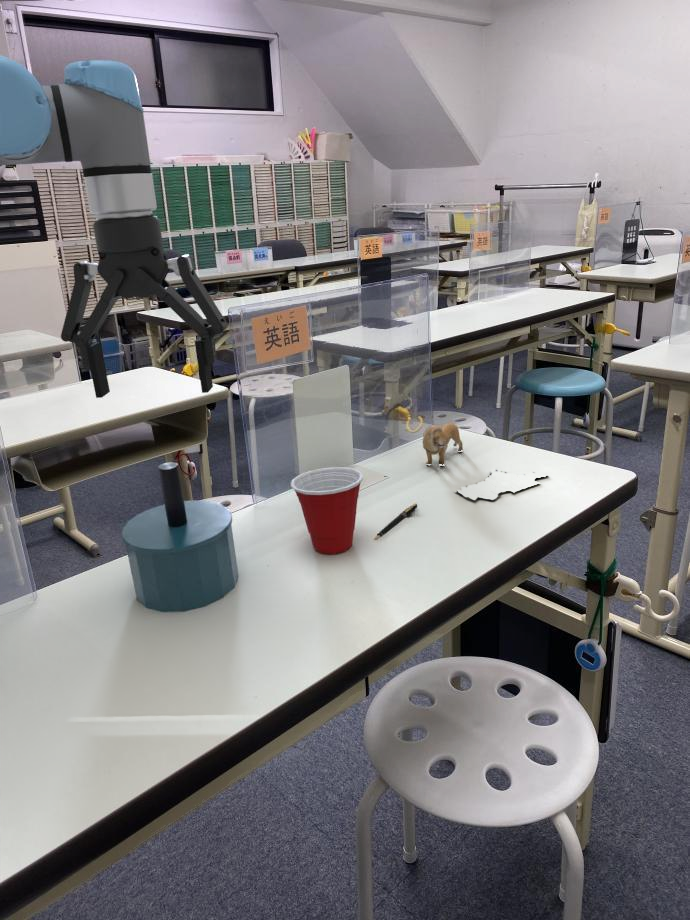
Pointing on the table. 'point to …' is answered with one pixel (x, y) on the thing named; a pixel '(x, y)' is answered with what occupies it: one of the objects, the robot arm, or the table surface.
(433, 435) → the lion figurine
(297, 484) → the plastic cup
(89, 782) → the table surface
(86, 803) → the table surface
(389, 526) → the fountain pen
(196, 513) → the lid
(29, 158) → the robot arm
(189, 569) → the tin
